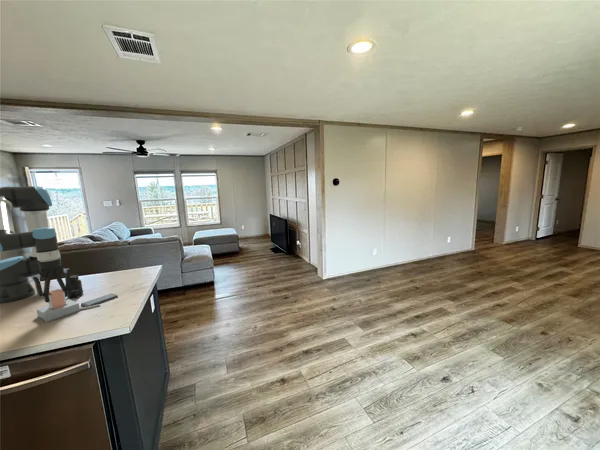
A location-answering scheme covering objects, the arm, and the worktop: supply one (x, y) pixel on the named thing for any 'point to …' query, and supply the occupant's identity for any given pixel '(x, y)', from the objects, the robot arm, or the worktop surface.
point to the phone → (99, 300)
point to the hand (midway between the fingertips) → (58, 305)
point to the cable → (90, 307)
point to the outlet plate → (58, 311)
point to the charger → (57, 298)
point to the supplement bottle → (75, 287)
